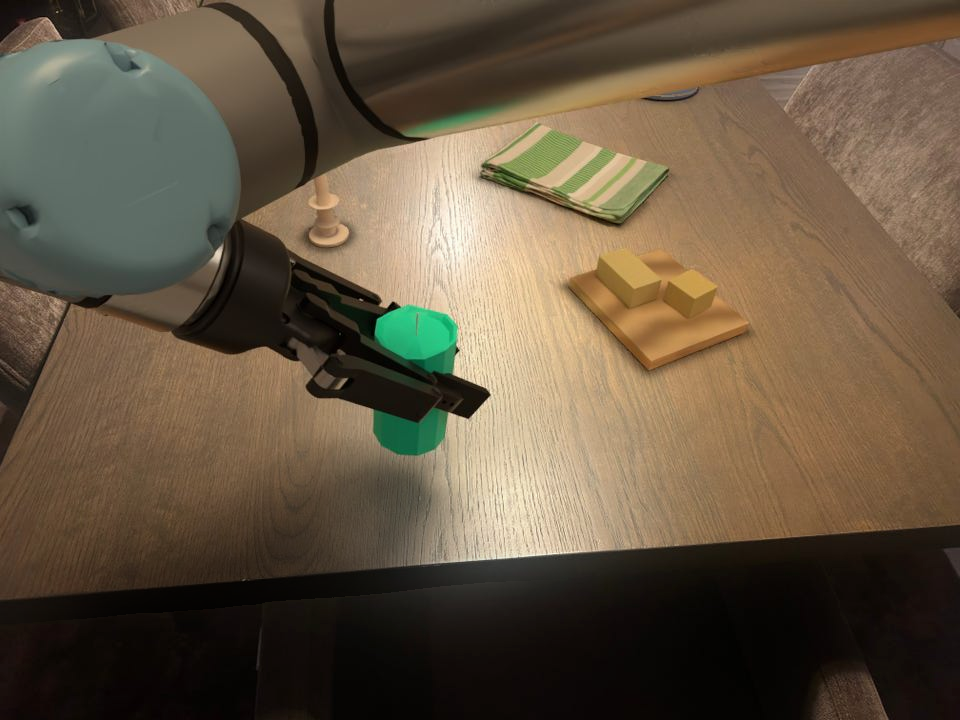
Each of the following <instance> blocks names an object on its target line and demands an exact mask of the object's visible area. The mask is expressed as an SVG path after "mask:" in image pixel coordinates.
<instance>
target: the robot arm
mask: <svg viewBox="0 0 960 720" xmlns="http://www.w3.org/2000/svg"><path fill="white" fill-rule="evenodd" d="M959 38H960V0H224V1H221V2H211V3H208V4H204V5H201V6H198V7H196V8H192V9H187V10H185V11H182V12H181V11H180V12H178V13H175V14H171V15H167V16H164V17H160V18H157V19H154V20H150V21H147V22H143V23H140V24H136V25H134V26H129V27H126V28H122V29H118V30H116V31H112V32H109V33H105V34H103V35H99V36H96V37H92V38H77V39H63V38H62V39H61V38H60V39H53V40H47V41H43V42H41V43H38V44H35V45H33V46H31V47H28V48H25V49H22V50H19V51H14V52H10V53H5V54H4V53H0V282H1V283H4V284H7V285H10V286H14V287H18V288H21V289H24V290H27V291H31V292H35V293H37V294H41V295H44V296H48V297H51V298H55V299H56V300H57V299H58V300H61V301H64V302H67V303H70V304H72V305H74V306H77V307H80V308H83V309H86V310H87V309H88V310H89V309H90V310H93V311H95V312H96V313H97V314H98V315H99V316H103V317H109V316H111V317H113V318H116V319H120V320H123V321H125V322H129V323H131V324H134V325H138V326H140V327H143V328H147V329H149V330H152V331H156V332H158V333H170V332H171V334H172V335H173V337H175V338H176V339H178V340H181V341H184V342H187V343H189V344H192V345H196V346H199V347H202V348H204V349H205V348H206V349H208V350H212V351H215V352H218V353H221V354H224V355H229V356H234V355H241V354H244V353H246V352H250V351H252V350H255V349H260V348H267V349H269V350H271V351H273V352H275V353H277V354H278V355H280V356H281V357H283V358H285V359H286V360H289V361H291V362H301V364H302V365H303V366H304V367H305V369H306V370H307V371H308V373H309V374H310V375H311V376H312V377H311V378H310V379H309V380H308V381H307V383H306V384H305V390H306V391H307V392H308V393H309V394H310V395H311V396H312V397H314V398H316V399H321V400H323V399H326V400H327V399H329V400H331V399H339V400H341V401H345V402H349V403H351V404H355V405H358V406H361V407H365V408H366V409H367V408H368V409H371V410H373V411H374V410H377V411H380V412H383V413H387V414H390V415H393V416H396V417H399V418H403V419H406V420H409V421H412V422H416V423H420V422H421V421H422V420H423V419H424V418H425V416H426V415H427V414H428V413H429V412H430V411H431V410H432V409H433V408H437V409H440V410H443V411H446V412H448V414H453V415H455V416H458V417H461V418H464V419H467V420H469V419H470V418H471V417H472V416H473V415H474V414H475V413H476V412H477V411H478V410H479V409H480V407H482V406H483V404H484V403H485V402H486V401H487V400H488V399H489V398H490V397H491V396H492V394H491V393H490V391H489V390H488V389H487V388H486V387H484V386H481V385H479V384H477V383H474V382H472V381H469V380H467V379H465V378H462V377H460V376H457V375H455V374H453V375H452V374H450V373H446V374H442V373H439V372H436V371H433V373H430V372H428V371H427V370H425V369H423V368H421V367H419V366H418V365H416V364H414V363H412V362H410V361H409V360H407V359H405V358H403V357H401V356H400V355H398V354H396V353H394V352H392V351H391V350H389V349H387V348H385V347H383V346H382V345H380V344H378V343H376V342H374V338H375V329H376V322H377V319H378V318H380V317H382V316H384V315H385V314H387V313H389V312H391V311H393V310H396V309H398V308H401V307H402V306H401V305H400V304H399V303H398V302H395V301H394V300H392V301H391V302H390V303H389V305H388V306H387V307H384V306H381V304H382V303H383V300H382V298H381V297H380V296H379V294H377V293H376V292H373V291H372V290H369V289H367V288H366V287H363V286H361V285H359V284H357V283H354V282H353V281H350V280H348V279H346V278H345V277H342V276H340V275H338V274H336V273H335V272H333V271H330V270H328V269H326V268H324V267H322V266H320V265H318V264H315V263H314V262H311V261H309V260H308V259H306V258H303V257H301V256H299V255H298V254H296V253H295V252H294V251H292V250H291V249H289V248H288V247H287V246H286V245H285V243H284V242H283V241H282V240H281V239H280V238H279V237H278V236H276V235H274V234H272V233H270V232H269V231H266V230H265V229H262V228H260V227H259V226H256V225H255V224H253V223H251V222H249V221H246V220H244V218H245V217H248V216H249V215H251V214H253V213H255V212H256V211H258V210H260V209H262V208H264V207H266V206H268V205H270V204H272V203H274V202H276V201H277V200H279V199H281V198H283V197H286V196H287V195H289V194H290V193H292V192H294V191H296V190H297V189H299V188H301V187H304V186H305V185H306V184H307V183H308V182H311V181H314V179H315V178H317V177H319V176H321V175H323V174H325V173H326V174H327V173H329V172H331V171H333V170H335V169H337V168H340V167H341V166H343V165H345V164H347V163H350V162H351V161H353V160H356V159H358V158H360V157H362V156H364V155H367V154H370V153H372V152H376V151H380V150H385V149H389V148H395V147H401V146H406V145H411V144H415V143H418V142H424V141H429V140H431V139H434V138H440V137H445V136H450V135H455V134H460V133H465V132H471V131H476V130H481V129H486V128H491V127H496V126H502V125H507V124H512V123H518V122H524V121H529V120H534V119H540V118H544V117H550V116H555V115H560V114H565V113H570V112H576V111H581V110H587V109H592V108H596V107H602V106H603V107H604V106H608V105H613V104H618V103H623V102H624V103H625V102H628V101H629V102H630V101H634V100H639V99H645V97H650V96H655V95H661V94H666V93H671V92H676V91H682V90H687V89H692V88H697V87H699V88H702V87H708V86H712V85H719V84H723V83H729V82H734V81H740V80H743V79H750V78H755V77H759V76H766V75H771V74H776V73H780V72H781V73H782V72H787V71H792V70H797V69H802V68H807V67H812V66H818V65H823V64H828V63H833V62H838V61H844V60H849V59H850V60H851V59H855V58H860V57H865V56H870V55H875V54H876V55H877V54H881V53H886V52H892V51H896V50H902V49H907V48H913V47H918V46H922V45H929V44H934V43H939V42H944V41H949V40H955V39H959ZM459 352H460V348H459V347H458V346H457V345H456V352H455V356H457V355H458V353H459Z"/></svg>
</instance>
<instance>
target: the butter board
mask: <svg viewBox="0 0 960 720" xmlns="http://www.w3.org/2000/svg"><path fill="white" fill-rule="evenodd" d="M635 256H636V257H637V258H638V259H640V260H641V261H642V262H643V263H644V264H645V265H646V266H647V267H649V268H650V269H651V270H652V271H653V272H654V273H655V274H656V275H657V276H659V277H660V278H661V279H662V281H661V285H660V289H659V292H658V296H657V299H656V300H653V301H650V302H647V303H645V304H642V305H639V306H636V307H633V308H630V309H629V308H628V307H627V306H626V305H625V304H624V303H623V302H622V301H621V300H620V299H619V298H618V297H617V296H616V295H615V294H614V293H613V292H612V291H611V290H610V289H609V288H608V287H607V286H606V285H605V284H604V283H603V282H602V281H601V280H600V279H599V278H598V277H597V276H596V270H597V268H596V269H593V270H590V271H587V272H584V273H581V274H578V275H574V276H571V277H570V278H569V284H568V288H569V289H570V290H571V291H572V292H573V293H574V294H575V295H576V296H577V297H578V298H579V299H580V301H581V302H582V303H583V304H585V306H586V307H587V308H588V309H589V310H590V311H591V312H592V313H593V314H594V315H595V317H597V319H598V320H600V321H601V323H602V324H603V325H604V326H605V327H606V328H607V329H608V330H609V331H610V332H611V333H612V334H613V335H614V336H615V337H616V338H617V339H618V340H619V342H620V343H621V344H622V345H623V346H624V347H625V348H626V349H627V350H628V351H629V352H630V353H631V354H632V355H633V356H634V357H635V358H636V359H637V360H638V361H639V362H640V364H641V365H642V366H643V367H644V368H645V369H646V370H647V371H651V370H653V369H656V368H659V367H661V366H664V365H666V364H669V363H671V362H673V361H676V360H679V359H682V358H684V357H686V356H690V355H691V354H695V353H697V352H699V351H701V350H704V349H707V348H710V347H712V346H715V345H717V344H720V343H722V342H724V341H727V340H731V339H732V338H734V337H737V336H739V335H743V334H745V333H746V332H747V329H748V327H749V324H750V322H749V321H747V320H746V319H745V318H744V317H743V316H741V315H740V313H738V312H737V311H736V310H735V309H733V308H732V307H731V306H730V305H729V304H727V302H725V301H724V300H723V299H721V297H720V296H718V295H717V293H716V294H715V297H714V300H713V303H712V306H711V307H709V308H707V309H705V310H703V311H701V312H700V313H698V314H696V315H694V316H692V317H690V318H687V317H685V316H684V315H683V314H681V313H680V312H678V311H677V310H676V309H674V308H673V307H672V306H670V305H669V304H668V303H666V302H665V301H663V298H664V295H665V291H666V288H667V284H668V281H669V280H670V279H673V278H675V277H677V276H679V275H681V274H683V273H685V272H687V271H688V270H687V268H686V267H684V266H683V265H682V264H681V263H679V262H678V261H677V260H676V259H675V258H674V257H672V256H671V255H670V254H669V253H667V251H665V250H664V249H663V248H658V249H655V250H652V251H648V252H646V253H643V254H639V255H635Z"/></svg>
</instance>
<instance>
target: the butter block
mask: <svg viewBox="0 0 960 720" xmlns="http://www.w3.org/2000/svg"><path fill="white" fill-rule="evenodd" d="M636 256H637V255H635V253H633V252H632V251H631V250H630V249H629V248H628V247H623V248H619V249H616V250H613V251H610V252H606V253H603V254H599V256H598V260H597V264H596V269H597V270H596V269H595V270H596V276H597V277H598V278H599V279H600V280H601V281H602V282H603V283H604V284H605V285H606V286H607V287H608V288H609V289H610V290H611V291H612V292H613V293H614V294H615V295H616V296H617V297H618V298H619V299H620V300H621V301H622V302H623V303H624V304H625V305H626V306H627V307H628V308H629V309H630V308H633V307H636V306H639V305H642V304H645V303H647V302H650V301H653V300H656V299H657V296H658V292H659V289H660V285H661V281H662V279H661V278H660V277H659V276H657V275H656V274H655V273H654V272H653V271H652V270H651V269H650V268H649V267H647V266H646V265H645V264H644V263H643V262H642V261H641V260H640V259H638V258H637V257H636Z"/></svg>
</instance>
